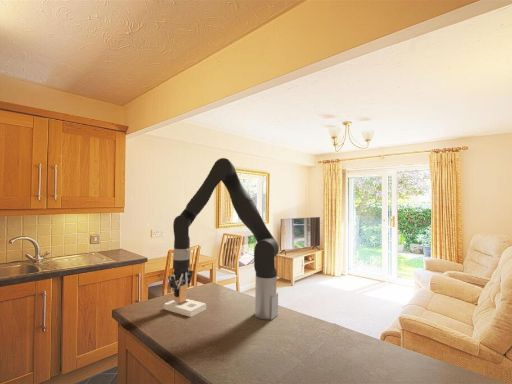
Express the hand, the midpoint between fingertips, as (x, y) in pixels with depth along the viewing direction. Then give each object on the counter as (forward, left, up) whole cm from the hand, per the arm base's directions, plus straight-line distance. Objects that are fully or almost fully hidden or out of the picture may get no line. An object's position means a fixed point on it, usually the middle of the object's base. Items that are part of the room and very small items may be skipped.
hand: (180, 295), depth 129 cm
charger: (0, 0, -2) cm, 2 cm away
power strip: (-3, 0, -6) cm, 7 cm away
